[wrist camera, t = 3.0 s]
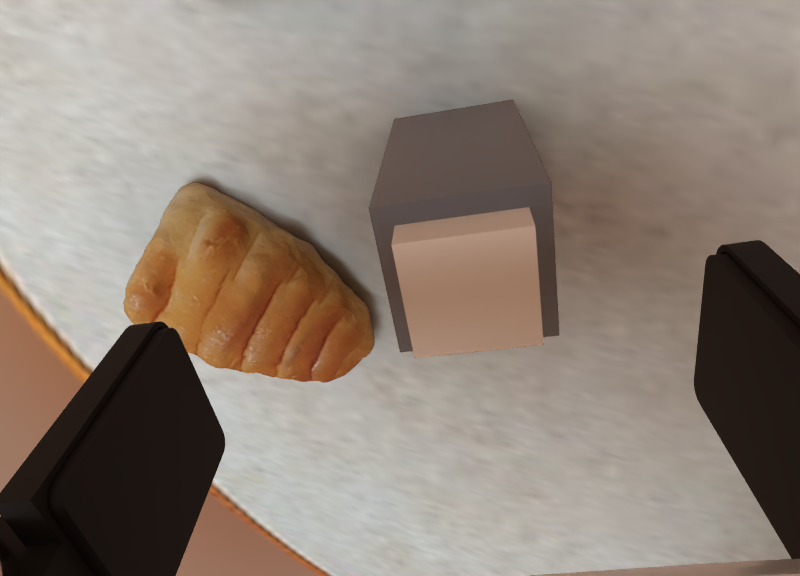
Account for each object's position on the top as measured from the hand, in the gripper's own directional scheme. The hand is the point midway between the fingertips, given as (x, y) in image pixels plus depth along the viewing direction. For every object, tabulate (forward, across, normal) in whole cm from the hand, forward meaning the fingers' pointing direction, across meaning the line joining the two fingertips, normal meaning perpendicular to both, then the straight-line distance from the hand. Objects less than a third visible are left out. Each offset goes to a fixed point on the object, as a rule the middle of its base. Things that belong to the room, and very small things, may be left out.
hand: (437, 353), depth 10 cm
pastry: (+12, +8, +4) cm, 15 cm away
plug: (+12, -1, +1) cm, 12 cm away
